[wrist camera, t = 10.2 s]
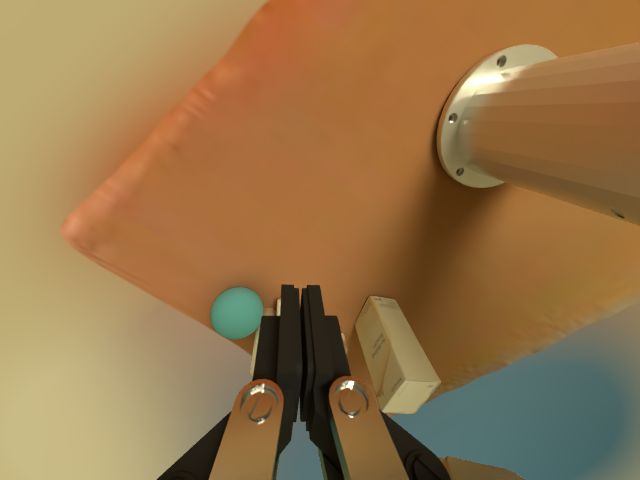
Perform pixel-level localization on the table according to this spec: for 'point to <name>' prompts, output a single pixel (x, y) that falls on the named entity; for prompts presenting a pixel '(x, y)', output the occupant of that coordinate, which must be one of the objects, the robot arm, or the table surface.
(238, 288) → the ball
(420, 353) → the skincare box
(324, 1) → the table surface
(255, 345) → the pin
